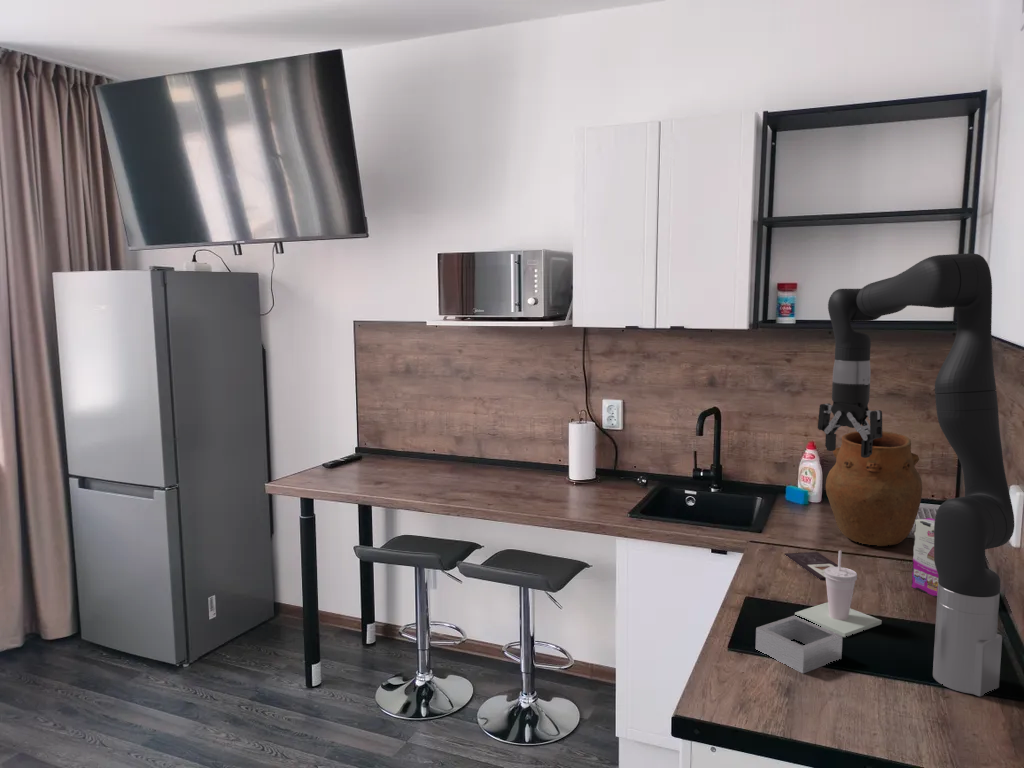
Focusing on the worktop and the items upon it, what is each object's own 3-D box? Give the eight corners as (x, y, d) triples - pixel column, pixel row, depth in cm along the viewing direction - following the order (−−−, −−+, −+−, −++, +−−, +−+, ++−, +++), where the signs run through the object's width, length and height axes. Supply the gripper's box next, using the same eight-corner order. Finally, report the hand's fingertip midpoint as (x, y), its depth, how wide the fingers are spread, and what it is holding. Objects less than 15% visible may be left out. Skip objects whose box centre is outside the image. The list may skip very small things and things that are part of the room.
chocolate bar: (817, 551, 202) (855, 576, 184) (817, 555, 202) (855, 580, 184) (784, 553, 201) (820, 578, 183) (784, 556, 201) (820, 581, 183)
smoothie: (844, 609, 164) (847, 546, 162) (861, 621, 158) (864, 556, 156) (816, 610, 163) (819, 547, 162) (832, 623, 157) (835, 557, 155)
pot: (819, 546, 208) (823, 438, 205) (828, 523, 229) (832, 424, 226) (919, 560, 197) (925, 445, 193) (918, 534, 218) (924, 430, 215)
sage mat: (881, 624, 159) (881, 620, 158) (844, 637, 152) (844, 633, 152) (831, 604, 169) (831, 600, 169) (794, 616, 163) (794, 612, 163)
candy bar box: (969, 601, 170) (973, 529, 168) (952, 604, 168) (957, 532, 166) (925, 584, 180) (929, 516, 179) (910, 587, 179) (913, 518, 177)
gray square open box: (841, 658, 143) (842, 635, 143) (802, 673, 138) (803, 649, 137) (793, 637, 153) (794, 615, 152) (755, 650, 147) (756, 627, 147)
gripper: (812, 378, 171) (809, 450, 173) (870, 384, 159) (866, 461, 160) (833, 376, 175) (830, 446, 176) (892, 382, 163) (888, 457, 164)
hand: (847, 453), depth 168 cm, fingers open, 8 cm apart
